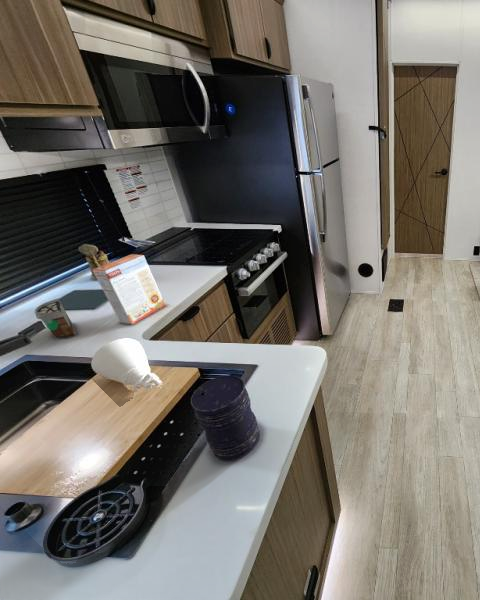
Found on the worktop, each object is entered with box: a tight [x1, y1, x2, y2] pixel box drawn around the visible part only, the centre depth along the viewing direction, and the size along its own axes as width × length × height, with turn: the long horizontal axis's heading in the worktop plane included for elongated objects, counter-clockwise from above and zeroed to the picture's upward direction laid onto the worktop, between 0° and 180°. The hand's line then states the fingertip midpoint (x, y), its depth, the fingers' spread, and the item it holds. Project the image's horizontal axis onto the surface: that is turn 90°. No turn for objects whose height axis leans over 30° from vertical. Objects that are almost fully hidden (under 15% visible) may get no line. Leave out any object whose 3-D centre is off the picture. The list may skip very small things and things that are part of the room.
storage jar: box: [190, 375, 261, 462], centre depth 69 cm, size 10×10×15 cm
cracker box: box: [93, 253, 166, 325], centre depth 116 cm, size 14×6×21 cm, turn 165°
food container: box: [34, 298, 76, 339], centre depth 108 cm, size 12×6×10 cm, turn 45°
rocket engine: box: [90, 337, 164, 393], centre depth 87 cm, size 12×12×18 cm
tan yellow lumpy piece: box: [77, 243, 111, 281], centre depth 145 cm, size 9×14×18 cm, turn 33°
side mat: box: [58, 288, 109, 311], centre depth 131 cm, size 20×16×1 cm
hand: (18, 325), depth 98 cm, fingers open, 13 cm apart
